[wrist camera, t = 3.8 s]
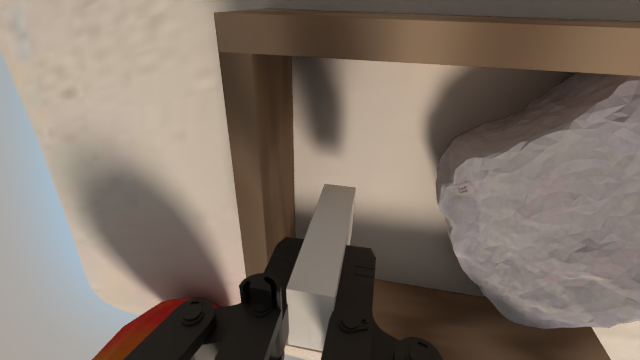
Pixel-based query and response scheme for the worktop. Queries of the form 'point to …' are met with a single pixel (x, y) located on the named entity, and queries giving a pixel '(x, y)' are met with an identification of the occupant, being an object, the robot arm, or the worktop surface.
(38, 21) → the worktop surface
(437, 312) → the cubby
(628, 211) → the stone block
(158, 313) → the apple
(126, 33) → the worktop surface
